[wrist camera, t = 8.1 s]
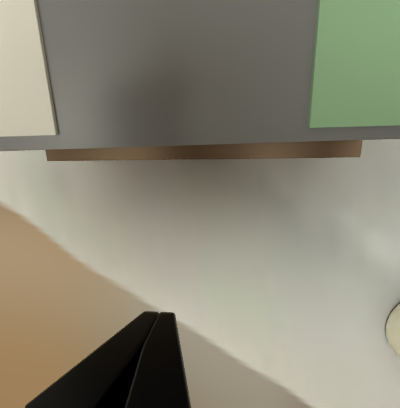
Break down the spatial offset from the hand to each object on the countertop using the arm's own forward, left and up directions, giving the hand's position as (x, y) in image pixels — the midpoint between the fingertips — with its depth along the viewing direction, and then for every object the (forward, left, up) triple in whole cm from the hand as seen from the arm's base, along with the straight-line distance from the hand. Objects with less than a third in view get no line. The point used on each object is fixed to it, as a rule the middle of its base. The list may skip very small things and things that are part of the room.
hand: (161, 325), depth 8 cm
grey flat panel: (0, -8, -6) cm, 10 cm away
